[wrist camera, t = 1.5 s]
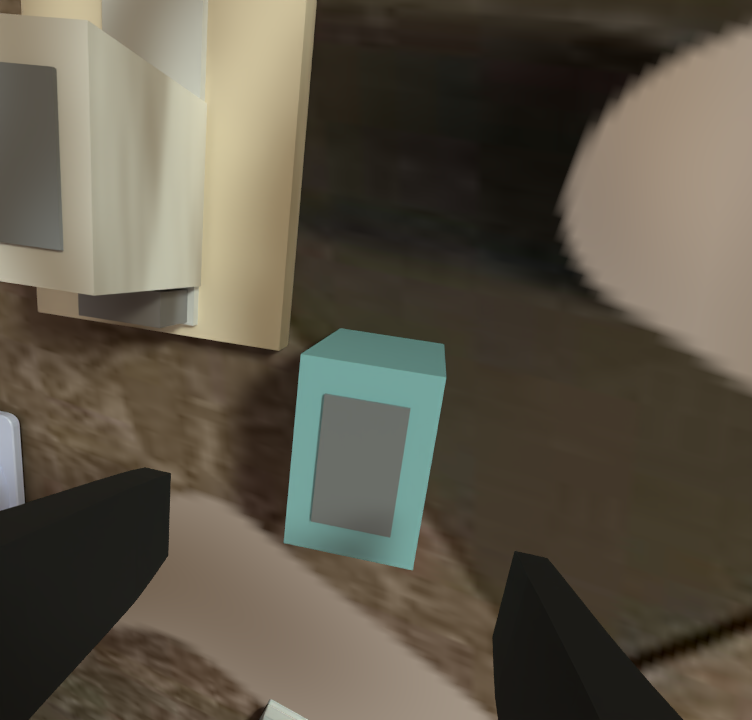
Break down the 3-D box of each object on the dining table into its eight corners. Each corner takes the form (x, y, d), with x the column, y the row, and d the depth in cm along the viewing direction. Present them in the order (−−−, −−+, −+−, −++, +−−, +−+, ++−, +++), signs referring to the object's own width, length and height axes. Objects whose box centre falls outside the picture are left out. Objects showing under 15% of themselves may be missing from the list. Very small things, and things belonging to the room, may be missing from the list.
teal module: (325, 468, 18) (282, 544, 13) (340, 328, 17) (299, 354, 12) (419, 486, 18) (412, 572, 13) (444, 344, 16) (446, 378, 11)
